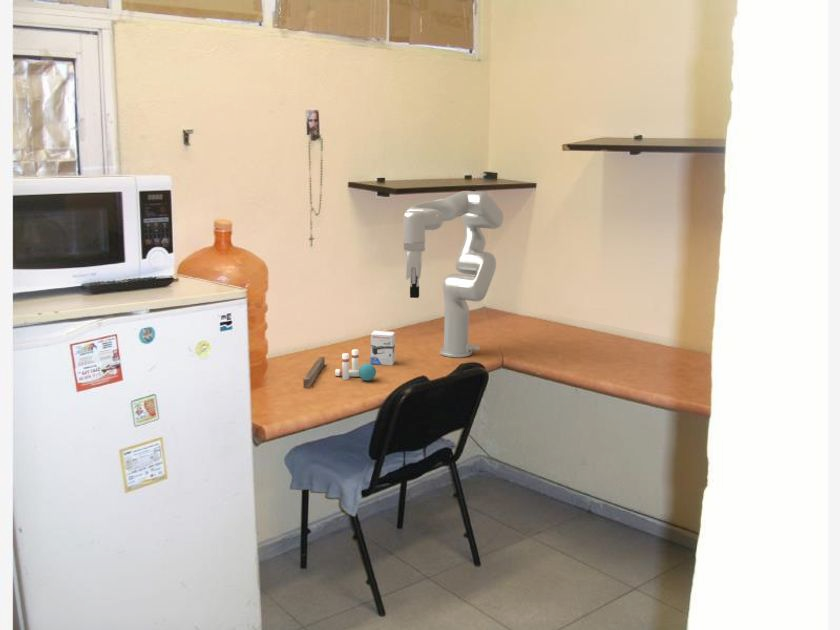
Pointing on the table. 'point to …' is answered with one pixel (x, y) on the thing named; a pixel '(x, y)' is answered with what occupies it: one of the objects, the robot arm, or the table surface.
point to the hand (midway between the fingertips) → (414, 297)
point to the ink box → (382, 348)
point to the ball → (367, 372)
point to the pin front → (351, 373)
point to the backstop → (313, 372)
